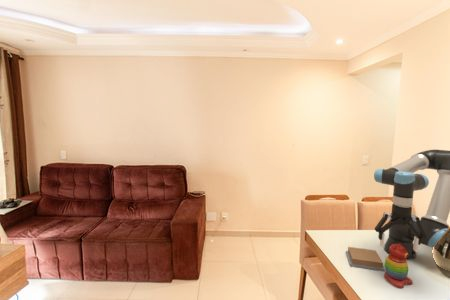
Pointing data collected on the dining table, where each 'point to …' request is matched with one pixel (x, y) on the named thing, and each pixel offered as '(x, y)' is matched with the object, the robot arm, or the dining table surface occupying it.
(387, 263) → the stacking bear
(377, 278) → the dining table surface
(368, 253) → the board
